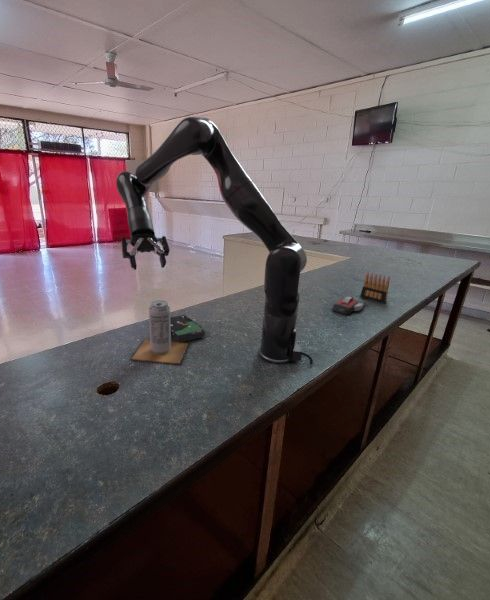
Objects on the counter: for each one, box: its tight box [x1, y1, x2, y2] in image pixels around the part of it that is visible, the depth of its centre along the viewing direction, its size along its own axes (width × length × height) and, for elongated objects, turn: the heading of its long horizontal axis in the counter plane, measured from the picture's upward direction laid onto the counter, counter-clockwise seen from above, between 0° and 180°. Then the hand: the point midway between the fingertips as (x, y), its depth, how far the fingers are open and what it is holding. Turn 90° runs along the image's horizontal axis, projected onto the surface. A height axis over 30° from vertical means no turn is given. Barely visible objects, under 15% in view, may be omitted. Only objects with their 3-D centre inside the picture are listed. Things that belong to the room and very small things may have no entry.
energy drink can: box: [148, 300, 172, 354], centre depth 92 cm, size 6×6×15 cm
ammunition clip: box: [359, 271, 391, 304], centre depth 141 cm, size 11×2×12 cm, turn 42°
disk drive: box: [170, 314, 206, 343], centre depth 107 cm, size 10×3×15 cm
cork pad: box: [131, 338, 189, 365], centre depth 94 cm, size 14×12×1 cm
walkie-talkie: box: [332, 295, 369, 315], centre depth 132 cm, size 9×4×20 cm
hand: (149, 267), depth 95 cm, fingers open, 8 cm apart
